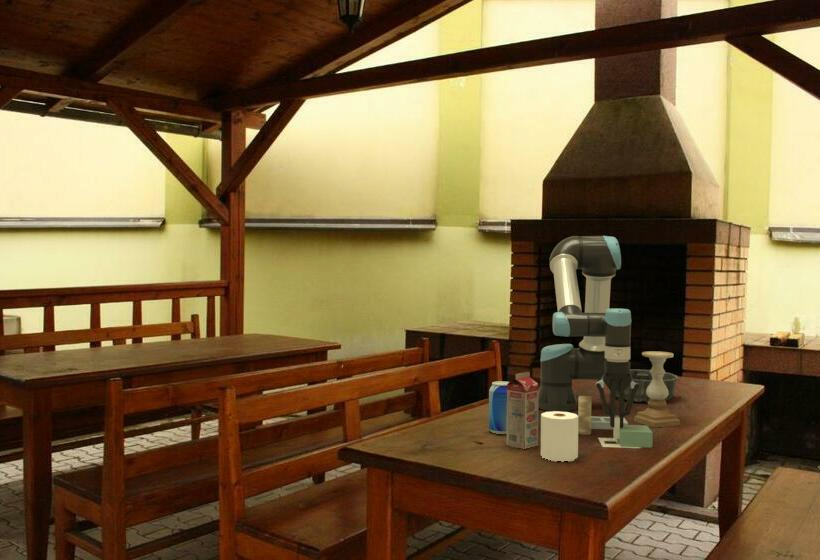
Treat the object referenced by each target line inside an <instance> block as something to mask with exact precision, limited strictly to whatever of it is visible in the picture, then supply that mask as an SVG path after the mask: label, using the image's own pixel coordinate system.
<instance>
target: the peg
mask: <svg viewBox="0 0 820 560" xmlns="http://www.w3.org/2000/svg"><path fill="white" fill-rule="evenodd" d="M577 411H578V413H577V416H578V435H583V436H587V435H588V436H589V435H592V429H591V416H592V396H589V395H579V396H578V401H577Z"/></svg>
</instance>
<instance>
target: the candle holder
mask: <svg viewBox="0 0 820 560" xmlns="http://www.w3.org/2000/svg"><path fill="white" fill-rule="evenodd" d="M641 355H642V356H643V357H644V358H649V361H650V363H651V366H652V367H651V369H649V370H650V373H651V375H652V381H651V383H650V384H649V386H648V387H647V389H646V394H647V396H648V397H649V398H650V400H649V401H648V403H647V405H648V407H647V408H646V409H645V410H643V411H638V412H637V413H636V415H634V416H633V422H635V423H637V424H639V425H640V424H641V425H645V426H648V427H649V428H654V429H658V428H659V427H661V428H669V427H668V426H671V427H679V426H678V425H680V426H681V420H680V419H679V418H678V415H677V414H674V413H671V412H670V411H669V410H668V409H666V406H667V404H668V403H667V400H666V401H665V400H664V399H665V398H666V397H667V396H668V394H669V392H668V389H667V387H666V386H665V384H664V382H663V376H664V374H665V373H667V372H666V371H665V369H664V364H665V362H666V361H667V359H670V358H674V353H673V352H668V351H660V350H659V351H656V350H655V351H654V350H653V351H651V350H650V351H642V352H641ZM659 429H660V428H659Z"/></svg>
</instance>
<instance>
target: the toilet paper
mask: <svg viewBox="0 0 820 560" xmlns="http://www.w3.org/2000/svg"><path fill="white" fill-rule="evenodd" d="M541 456H542V457H541ZM540 457H541V458H542V459H543V458H545V459H544V460H546V459H548V460H547V461H550V460H551V461H550V462H557V461H561V462H560V463H565V462H564V461H568V462H574V461H576V460H577V459H578V458H579V433H578V414H577V413H573V412H570V411H545V412H542V413H541V414H540ZM575 459H576V460H575Z"/></svg>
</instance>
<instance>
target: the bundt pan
mask: <svg viewBox="0 0 820 560" xmlns="http://www.w3.org/2000/svg"><path fill="white" fill-rule="evenodd" d="M650 370H651V369H631V368H630V376H631V378H632V381H633V382H635V383H637V384H638V385H639V388H638V390H637V391H636V393H635V397H634V400H633V402H636V403H642V402H644V403H646V404H648V401H649V400H650V398H649V397H648V396H647V394H646V389H647V387H648V386H649V384H650V383H651V381H652V375H651V373H650ZM677 380H679V377H678V375H676V374H674V373H670V372H666V373H665V374H664V376H663V382H664V384H665V386H666V387H667V389H668V392H669V394H668V396H667V397H666V398H665V399H664V400H665V401H666V402H667V401H668V400H670V399H672V397H673V395H674V394H675V389H676V384H677ZM630 385H631V384H629V386H628V387H627V388H626V390H624V401H625V400H626V401H628V397H629V393H630V390H631V388H630ZM616 397H617V398H618V399H619V391H616V394H615V398H616Z"/></svg>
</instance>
